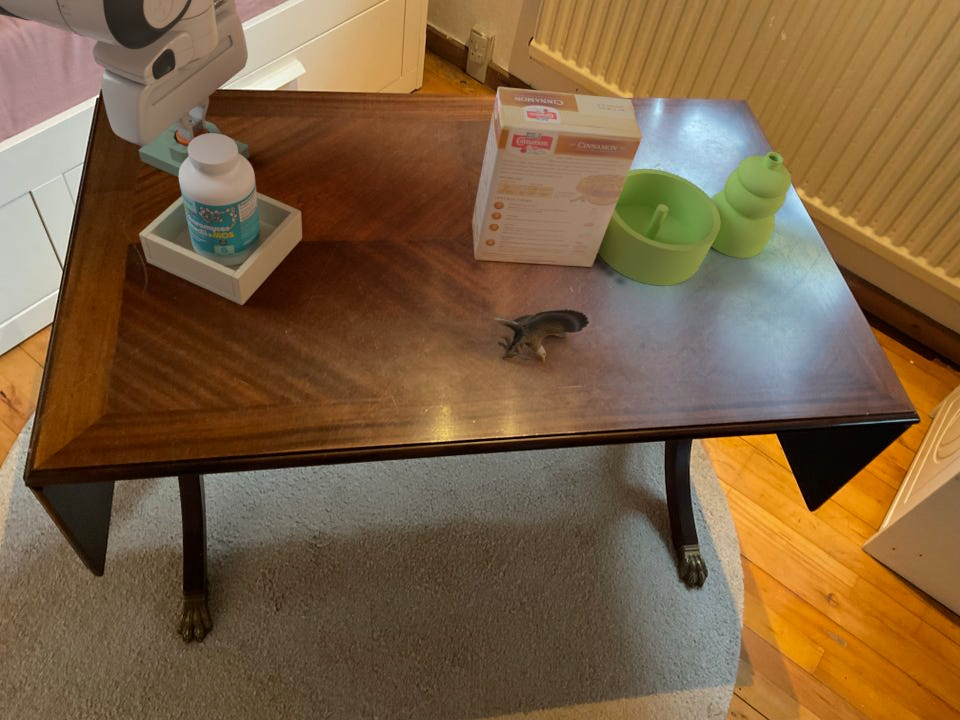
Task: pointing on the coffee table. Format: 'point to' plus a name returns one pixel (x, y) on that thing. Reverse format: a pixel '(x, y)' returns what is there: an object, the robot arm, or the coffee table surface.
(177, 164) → the panel
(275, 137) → the coffee table surface
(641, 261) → the food container
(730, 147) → the coffee table surface
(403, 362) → the coffee table surface
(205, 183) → the pill bottle
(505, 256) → the coffeecake box
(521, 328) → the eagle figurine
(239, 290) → the cream square open box
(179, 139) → the button
